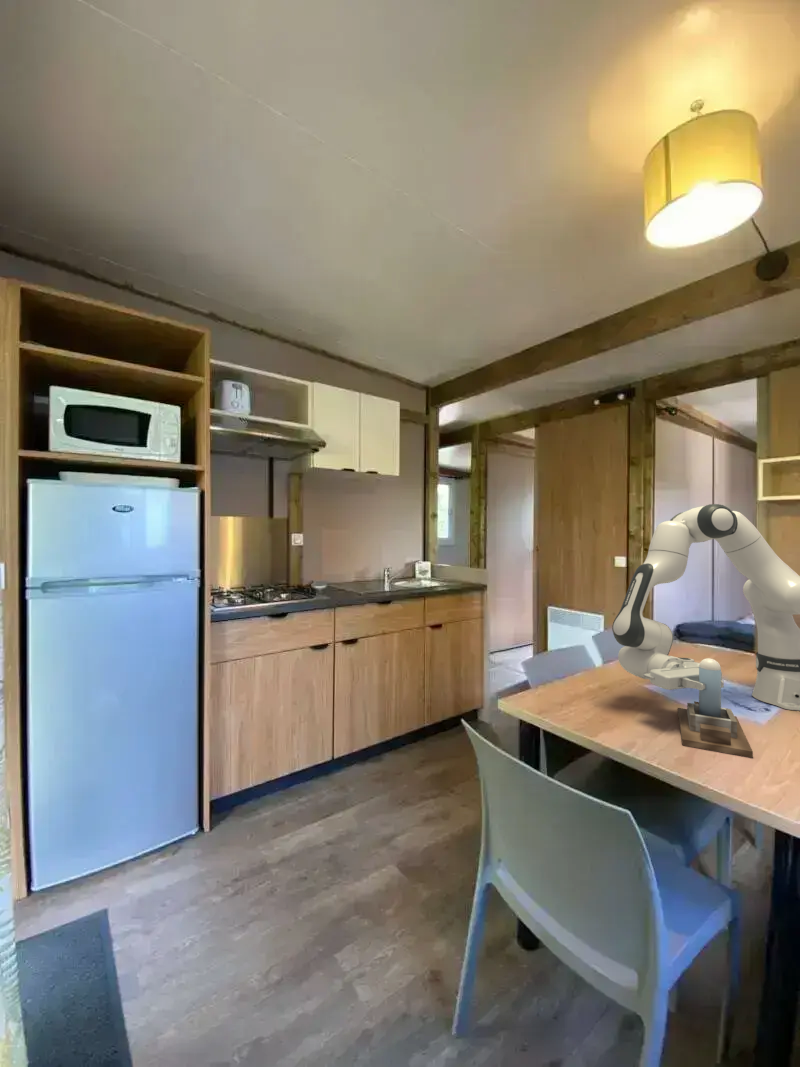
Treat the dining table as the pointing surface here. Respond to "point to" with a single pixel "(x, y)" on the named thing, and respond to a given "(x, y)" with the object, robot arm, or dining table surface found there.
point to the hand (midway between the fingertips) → (713, 685)
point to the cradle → (713, 731)
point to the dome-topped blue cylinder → (710, 688)
